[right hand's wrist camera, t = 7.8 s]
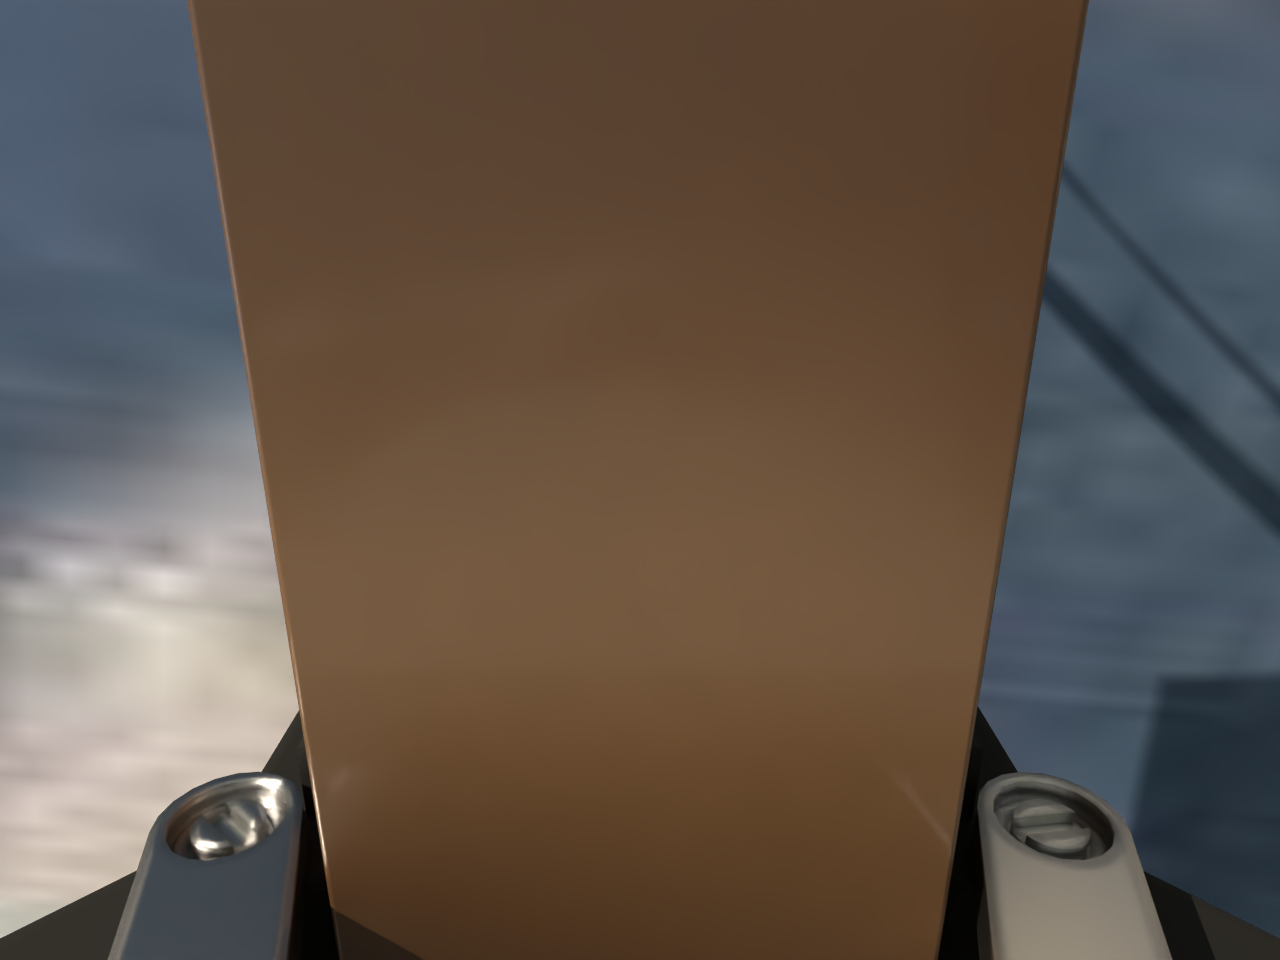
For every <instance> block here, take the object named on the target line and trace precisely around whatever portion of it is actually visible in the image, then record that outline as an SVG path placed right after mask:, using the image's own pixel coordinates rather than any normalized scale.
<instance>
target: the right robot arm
mask: <svg viewBox="0 0 1280 960" xmlns="http://www.w3.org/2000/svg"><path fill="white" fill-rule="evenodd" d="M0 960H339V957H338V951H337V945H336V938H335V932H334V926H333V919H332V913H331V907H330V900H329V894H328V888H327V881H326V875H325V869H324V863H323V856H322V850H321V844H320V837H319V831H318V825H317V818H316V812H315V806H314V799H313V793H312V787H311V780H310V774H309V768H308V761H307V755H306V749H305V742H304V736H303V730H302V723H301V717H300V711H298V713H297V715H296V716H295V718H294V720H293V721H292V723H291V725H290V726H289V728H288V729H287V731H286V733H285V734H284V736H283V738H282V739H281V741H280V743H279V744H278V746H277V748H276V749H275V751H274V753H273V754H272V756H271V757H270V759H269V761H268V762H267V764H266V766H265V767H264V769H263V771H262V772H251V773H238V774H234V775H230V776H226V777H222V778H218V779H214V780H212V781H210V782H207V783H205V784H203V785H200V786H198V787H196V788H194V789H192V790H190V791H189V792H187V793H186V794H184V795H183V796H181V797H179V798H178V799H176V800H175V801H173V802H172V803H171V804H170V805H169V806H168V807H167V808H166V809H165V810H164V811H163V812H162V813H161V814H160V815H159V816H158V818H157V820H156V822H155V823H154V825H153V827H152V829H151V830H150V832H149V835H148V838H147V841H146V845H145V848H144V851H143V854H142V857H141V860H140V863H139V866H138V869H137V871H135V872H133V873H131V874H129V875H127V876H125V877H123V878H121V879H119V880H117V881H115V882H113V883H111V884H109V885H107V886H105V887H103V888H101V889H99V890H97V891H95V892H93V893H91V894H89V895H87V896H85V897H83V898H81V899H79V900H77V901H75V902H73V903H71V904H69V905H67V906H65V907H63V908H61V909H59V910H57V911H55V912H53V913H51V914H49V915H47V916H45V917H43V918H41V919H39V920H37V921H35V922H33V923H31V924H29V925H27V926H25V927H23V928H21V929H19V930H17V931H15V932H13V933H11V934H9V935H7V936H5V937H2V938H0ZM938 960H1280V939H1279V938H1277V937H1275V936H1273V935H1271V934H1269V933H1267V932H1265V931H1263V930H1261V929H1259V928H1257V927H1255V926H1253V925H1251V924H1249V923H1247V922H1245V921H1243V920H1241V919H1239V918H1237V917H1235V916H1233V915H1231V914H1229V913H1227V912H1225V911H1223V910H1221V909H1219V908H1217V907H1215V906H1213V905H1211V904H1209V903H1207V902H1205V901H1203V900H1201V899H1199V898H1197V897H1195V896H1193V895H1191V894H1189V893H1187V892H1185V891H1183V890H1181V889H1179V888H1177V887H1174V886H1172V885H1170V884H1168V883H1166V882H1164V881H1162V880H1160V879H1158V878H1156V877H1154V876H1152V875H1150V874H1148V873H1146V872H1144V871H1143V869H1142V866H1141V863H1140V860H1139V857H1138V854H1137V851H1136V848H1135V845H1134V841H1133V838H1132V835H1131V832H1130V831H1129V829H1128V827H1127V825H1126V823H1125V822H1124V820H1123V818H1122V816H1121V815H1120V814H1119V813H1118V812H1117V811H1116V810H1115V809H1114V808H1113V807H1112V806H1111V805H1110V804H1109V803H1108V802H1107V801H1105V800H1104V799H1102V798H1101V797H1099V796H1097V795H1096V794H1094V793H1093V792H1091V791H1090V790H1088V789H1086V788H1084V787H1082V786H1080V785H1077V784H1075V783H1073V782H1070V781H1068V780H1066V779H1062V778H1058V777H1054V776H1050V775H1046V774H1042V773H1029V772H1017V770H1016V768H1015V767H1014V765H1013V763H1012V762H1011V760H1010V759H1009V757H1008V755H1007V754H1006V752H1005V750H1004V749H1003V747H1002V745H1001V744H1000V742H999V740H998V739H997V737H996V735H995V734H994V732H993V731H992V729H991V727H990V726H989V724H988V722H987V721H986V719H985V717H984V716H983V714H982V712H981V711H980V709H979V707H978V708H977V714H976V720H975V727H974V733H973V739H972V746H971V752H970V758H969V765H968V771H967V777H966V784H965V790H964V796H963V803H962V809H961V815H960V822H959V828H958V834H957V841H956V847H955V854H954V860H953V866H952V873H951V879H950V885H949V892H948V898H947V904H946V911H945V917H944V923H943V930H942V936H941V942H940V949H939V955H938Z"/></svg>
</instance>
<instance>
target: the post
mask: <svg viewBox="0 0 1280 960" xmlns="http://www.w3.org/2000/svg"><path fill="white" fill-rule="evenodd" d="M187 2H188V9H189V15H190V21H191V28H192V34H193V40H194V47H195V53H196V59H197V66H198V72H199V78H200V85H201V91H202V97H203V104H204V110H205V116H206V123H207V129H208V135H209V141H210V148H211V154H212V160H213V167H214V173H215V179H216V186H217V192H218V198H219V205H220V211H221V217H222V224H223V230H224V236H225V243H226V249H227V255H228V262H229V268H230V274H231V281H232V287H233V293H234V300H235V306H236V312H237V319H238V325H239V331H240V338H241V344H242V350H243V357H244V363H245V369H246V376H247V382H248V388H249V394H250V401H251V407H252V413H253V420H254V426H255V432H256V439H257V445H258V451H259V458H260V464H261V470H262V477H263V483H264V489H265V496H266V502H267V508H268V515H269V521H270V527H271V534H272V540H273V546H274V553H275V559H276V565H277V572H278V578H279V584H280V591H281V597H282V603H283V610H284V616H285V622H286V629H287V635H288V641H289V647H290V654H291V660H292V666H293V673H294V679H295V685H296V692H297V698H298V704H299V711H300V717H301V723H302V730H303V736H304V742H305V749H306V755H307V761H308V768H309V774H310V780H311V787H312V793H313V799H314V806H315V812H316V818H317V825H318V831H319V837H320V844H321V850H322V856H323V863H324V869H325V875H326V881H327V888H328V894H329V900H330V907H331V913H332V919H333V926H334V932H335V938H336V945H337V951H338V957H339V960H938V955H939V949H940V942H941V936H942V930H943V923H944V917H945V911H946V904H947V898H948V892H949V885H950V879H951V873H952V866H953V860H954V854H955V847H956V841H957V834H958V828H959V822H960V815H961V809H962V803H963V796H964V790H965V784H966V777H967V771H968V765H969V758H970V752H971V746H972V739H973V733H974V727H975V720H976V714H977V708H978V701H979V695H980V689H981V682H982V676H983V670H984V663H985V657H986V651H987V644H988V638H989V631H990V625H991V619H992V612H993V606H994V600H995V593H996V587H997V581H998V574H999V568H1000V562H1001V555H1002V549H1003V543H1004V536H1005V530H1006V524H1007V517H1008V511H1009V505H1010V498H1011V492H1012V486H1013V479H1014V473H1015V467H1016V460H1017V454H1018V448H1019V441H1020V435H1021V428H1022V422H1023V416H1024V409H1025V403H1026V397H1027V390H1028V384H1029V378H1030V371H1031V365H1032V359H1033V352H1034V346H1035V340H1036V333H1037V327H1038V321H1039V314H1040V308H1041V302H1042V295H1043V289H1044V283H1045V276H1046V270H1047V264H1048V257H1049V251H1050V245H1051V238H1052V232H1053V226H1054V219H1055V213H1056V206H1057V200H1058V194H1059V187H1060V181H1061V175H1062V168H1063V162H1064V156H1065V149H1066V143H1067V137H1068V130H1069V124H1070V118H1071V111H1072V105H1073V99H1074V92H1075V86H1076V80H1077V73H1078V67H1079V61H1080V54H1081V48H1082V42H1083V35H1084V29H1085V23H1086V16H1087V10H1088V3H1089V0H187Z"/></svg>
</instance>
